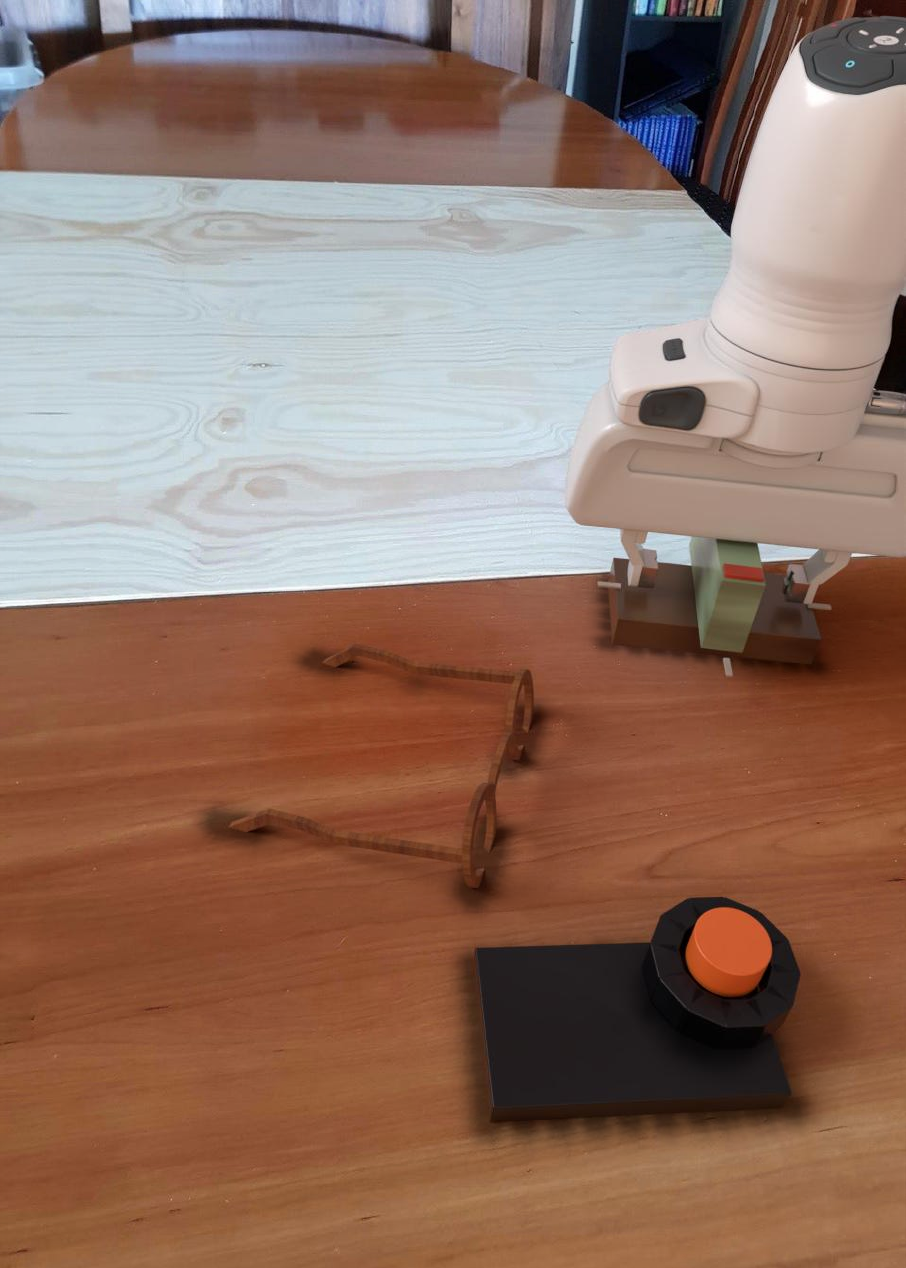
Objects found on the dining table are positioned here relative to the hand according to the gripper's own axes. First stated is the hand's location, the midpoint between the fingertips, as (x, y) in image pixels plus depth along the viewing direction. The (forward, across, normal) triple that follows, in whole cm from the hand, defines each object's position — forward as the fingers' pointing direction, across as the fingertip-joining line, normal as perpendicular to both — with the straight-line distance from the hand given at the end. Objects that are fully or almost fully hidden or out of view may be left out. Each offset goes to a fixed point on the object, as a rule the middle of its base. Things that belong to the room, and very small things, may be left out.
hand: (717, 589), depth 64 cm
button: (0, +3, +26) cm, 26 cm away
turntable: (+4, 0, 0) cm, 4 cm away
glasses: (+4, +18, +14) cm, 23 cm away
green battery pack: (+1, 0, 0) cm, 1 cm away
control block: (+4, +7, +28) cm, 29 cm away
